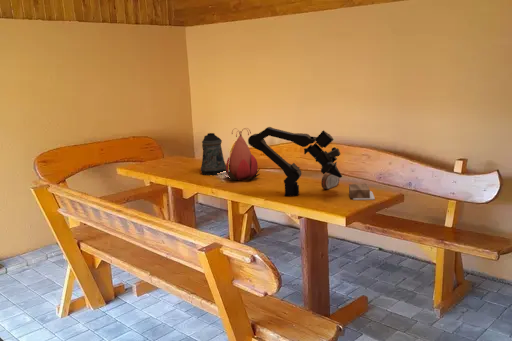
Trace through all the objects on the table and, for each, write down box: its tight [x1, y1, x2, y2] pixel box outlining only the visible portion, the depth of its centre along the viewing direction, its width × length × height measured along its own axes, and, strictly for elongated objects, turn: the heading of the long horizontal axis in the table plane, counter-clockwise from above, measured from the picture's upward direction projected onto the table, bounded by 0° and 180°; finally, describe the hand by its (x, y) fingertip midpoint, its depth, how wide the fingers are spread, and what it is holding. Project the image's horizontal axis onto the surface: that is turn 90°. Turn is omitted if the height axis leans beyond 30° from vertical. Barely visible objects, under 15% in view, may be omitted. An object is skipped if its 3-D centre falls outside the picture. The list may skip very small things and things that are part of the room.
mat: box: [352, 190, 376, 201], centre depth 234 cm, size 10×14×1 cm
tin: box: [320, 173, 341, 190], centre depth 252 cm, size 15×3×8 cm, turn 141°
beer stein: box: [200, 132, 226, 176], centre depth 303 cm, size 16×19×25 cm
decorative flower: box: [224, 127, 261, 182], centre depth 280 cm, size 22×23×30 cm
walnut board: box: [348, 183, 371, 199], centre depth 234 cm, size 4×12×9 cm
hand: (341, 177), depth 234 cm, fingers closed
